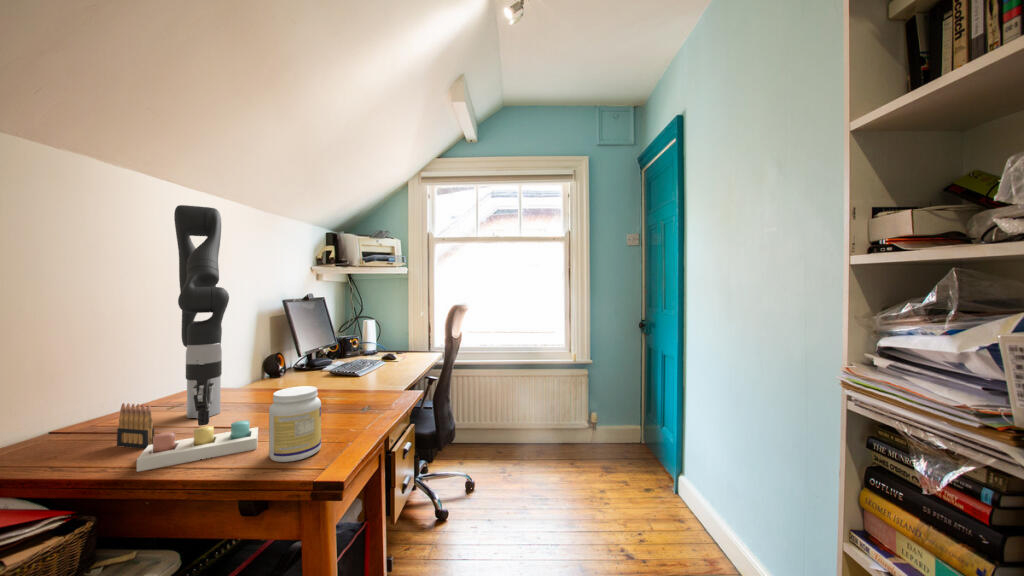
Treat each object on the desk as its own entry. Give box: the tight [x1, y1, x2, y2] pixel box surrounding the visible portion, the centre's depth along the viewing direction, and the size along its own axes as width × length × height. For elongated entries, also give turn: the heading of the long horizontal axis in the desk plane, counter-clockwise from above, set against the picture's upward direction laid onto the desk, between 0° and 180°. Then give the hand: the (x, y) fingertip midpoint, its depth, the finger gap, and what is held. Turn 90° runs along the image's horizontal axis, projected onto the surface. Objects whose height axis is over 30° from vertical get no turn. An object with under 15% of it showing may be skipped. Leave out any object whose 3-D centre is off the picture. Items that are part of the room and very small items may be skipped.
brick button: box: [153, 431, 176, 453], centre depth 96 cm, size 4×4×4 cm
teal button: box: [230, 419, 250, 440], centre depth 105 cm, size 4×4×4 cm
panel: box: [136, 426, 259, 472], centre depth 101 cm, size 10×24×3 cm, turn 123°
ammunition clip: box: [116, 402, 155, 450], centre depth 105 cm, size 11×2×12 cm, turn 80°
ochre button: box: [193, 425, 215, 446], centre depth 101 cm, size 4×4×4 cm
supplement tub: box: [268, 385, 322, 463], centre depth 100 cm, size 12×12×17 cm
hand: (203, 424), depth 101 cm, fingers closed
